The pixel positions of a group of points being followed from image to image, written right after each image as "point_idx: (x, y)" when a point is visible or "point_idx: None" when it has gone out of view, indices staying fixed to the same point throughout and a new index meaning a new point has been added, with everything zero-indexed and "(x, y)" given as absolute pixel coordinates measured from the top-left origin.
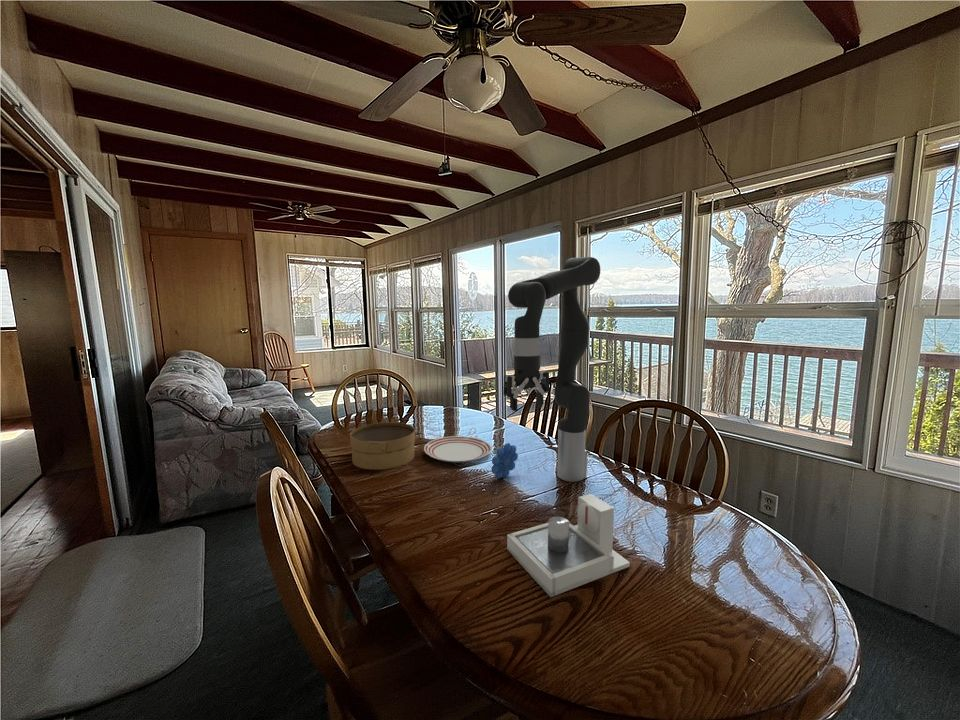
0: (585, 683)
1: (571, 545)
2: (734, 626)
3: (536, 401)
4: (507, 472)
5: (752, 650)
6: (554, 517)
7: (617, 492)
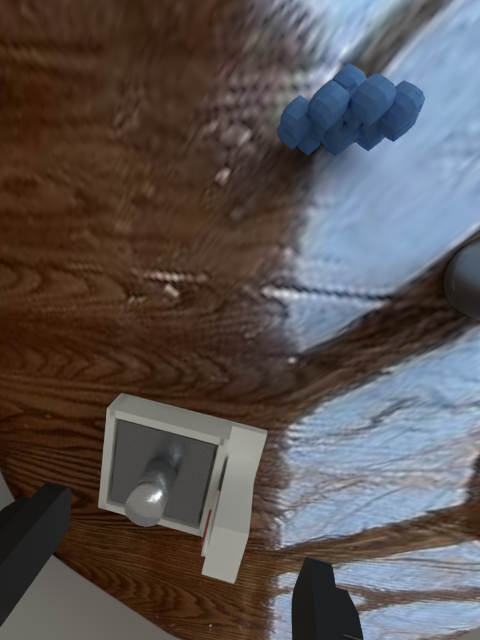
0: (72, 551)
1: (178, 486)
2: (239, 613)
3: (311, 609)
4: (335, 150)
5: (221, 625)
6: (146, 499)
7: (473, 410)
